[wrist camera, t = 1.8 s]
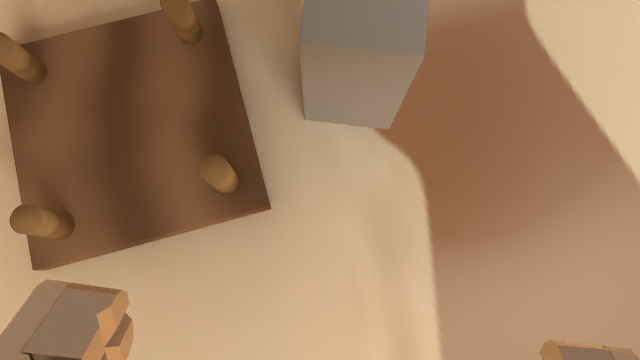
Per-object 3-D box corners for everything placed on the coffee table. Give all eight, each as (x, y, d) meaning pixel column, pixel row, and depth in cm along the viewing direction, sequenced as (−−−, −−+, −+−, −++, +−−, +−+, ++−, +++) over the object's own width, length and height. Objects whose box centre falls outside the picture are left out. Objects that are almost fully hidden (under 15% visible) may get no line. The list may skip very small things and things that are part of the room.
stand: (218, 7, 31) (201, -40, 26) (271, 208, 28) (262, 195, 24) (9, 59, 30) (-47, 20, 25) (44, 270, 28) (-10, 269, 23)
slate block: (395, 50, 30) (433, -57, 21) (388, 129, 29) (424, 55, 20) (314, 42, 30) (313, -70, 21) (304, 119, 30) (298, 41, 20)
